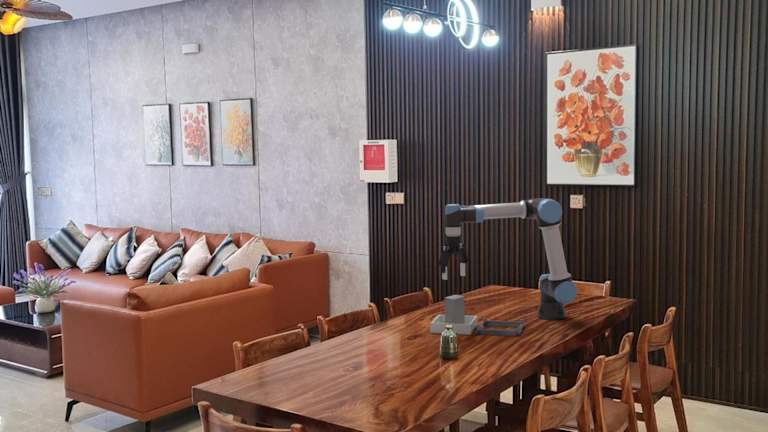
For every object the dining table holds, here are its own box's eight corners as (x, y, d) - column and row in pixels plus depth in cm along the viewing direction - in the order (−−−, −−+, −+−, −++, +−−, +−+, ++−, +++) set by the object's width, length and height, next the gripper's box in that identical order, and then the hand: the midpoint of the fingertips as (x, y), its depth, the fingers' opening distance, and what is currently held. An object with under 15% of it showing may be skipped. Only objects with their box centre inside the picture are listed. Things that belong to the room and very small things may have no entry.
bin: (477, 325, 385) (477, 316, 384) (470, 334, 366) (470, 324, 365) (439, 324, 390) (438, 314, 390) (430, 332, 371) (430, 322, 371)
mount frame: (524, 326, 380) (524, 318, 380) (520, 336, 360) (520, 328, 360) (483, 324, 386) (483, 317, 386) (476, 334, 366) (476, 326, 366)
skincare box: (455, 325, 383) (455, 294, 382) (466, 327, 377) (465, 295, 376) (443, 327, 377) (443, 296, 376) (454, 330, 372) (453, 298, 371)
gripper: (463, 232, 385) (464, 273, 387) (430, 237, 368) (431, 280, 370) (475, 233, 380) (475, 275, 382) (441, 238, 363) (442, 281, 365)
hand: (453, 277), depth 376 cm, fingers open, 13 cm apart
